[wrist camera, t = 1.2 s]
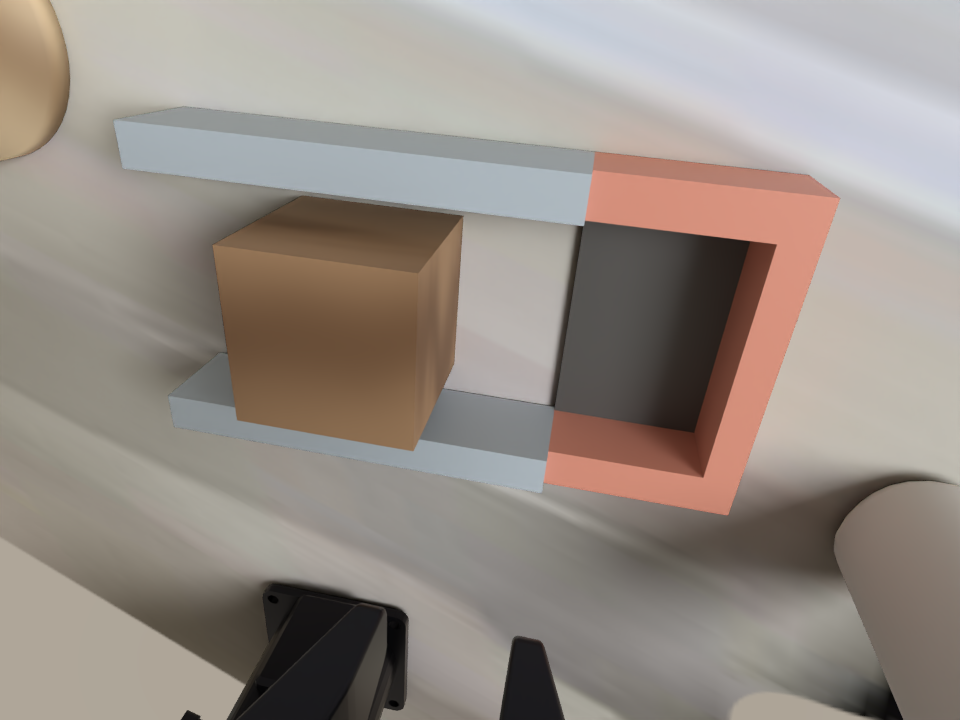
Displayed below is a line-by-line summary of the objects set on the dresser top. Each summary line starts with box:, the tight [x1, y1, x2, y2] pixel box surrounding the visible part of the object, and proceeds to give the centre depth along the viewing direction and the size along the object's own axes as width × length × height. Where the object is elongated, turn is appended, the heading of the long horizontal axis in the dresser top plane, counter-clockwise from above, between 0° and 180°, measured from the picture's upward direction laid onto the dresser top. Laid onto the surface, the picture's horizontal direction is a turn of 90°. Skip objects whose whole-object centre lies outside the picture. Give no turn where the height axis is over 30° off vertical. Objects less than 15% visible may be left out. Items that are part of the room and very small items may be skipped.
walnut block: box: [213, 196, 463, 451], centre depth 18 cm, size 5×5×5 cm
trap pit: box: [543, 152, 840, 516], centre depth 18 cm, size 9×6×2 cm, turn 176°
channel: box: [113, 107, 595, 493], centre depth 18 cm, size 9×12×3 cm
